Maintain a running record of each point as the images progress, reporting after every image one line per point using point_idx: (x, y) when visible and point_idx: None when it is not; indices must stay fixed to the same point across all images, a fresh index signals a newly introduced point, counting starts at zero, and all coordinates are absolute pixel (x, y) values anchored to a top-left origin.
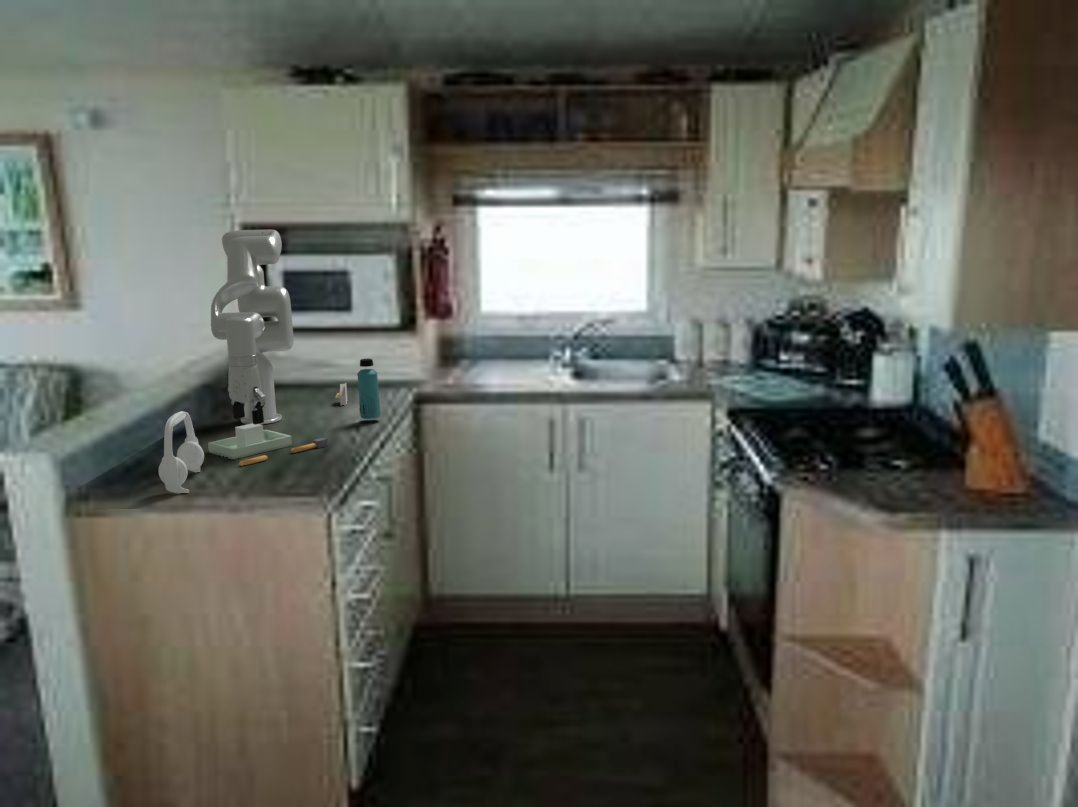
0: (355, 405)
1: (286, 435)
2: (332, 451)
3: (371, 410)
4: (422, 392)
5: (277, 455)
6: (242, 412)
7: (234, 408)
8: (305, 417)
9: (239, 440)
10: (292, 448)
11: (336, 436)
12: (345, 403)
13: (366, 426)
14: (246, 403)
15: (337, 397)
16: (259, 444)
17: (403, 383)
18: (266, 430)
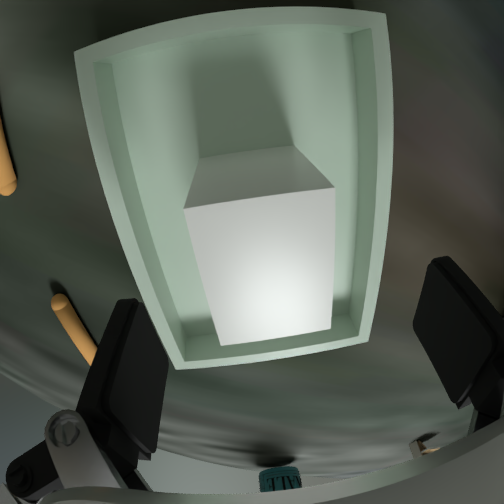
0: (395, 452)
1: (198, 362)
2: (46, 363)
3: (261, 486)
4: None
5: (58, 245)
6: (431, 341)
7: (482, 324)
8: (425, 407)
9: (266, 161)
10: (55, 308)
11: (203, 423)
12: (410, 447)
13: (245, 457)
14: (84, 488)
15: (424, 450)
16: (117, 224)
17: None
18: (356, 338)
